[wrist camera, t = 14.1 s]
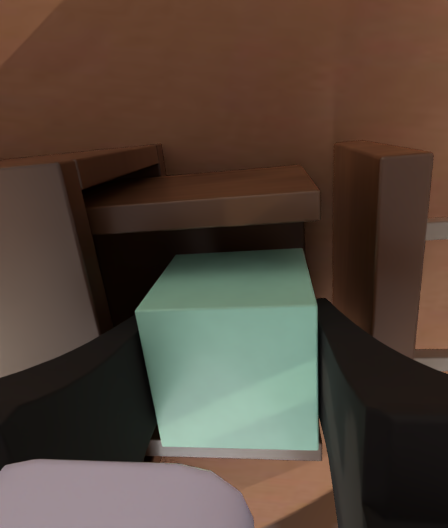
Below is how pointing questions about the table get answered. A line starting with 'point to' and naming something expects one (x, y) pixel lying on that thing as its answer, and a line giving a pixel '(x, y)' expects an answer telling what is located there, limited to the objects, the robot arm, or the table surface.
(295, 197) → the drawer
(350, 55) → the table surface
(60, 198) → the cabinet
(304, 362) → the note cube
